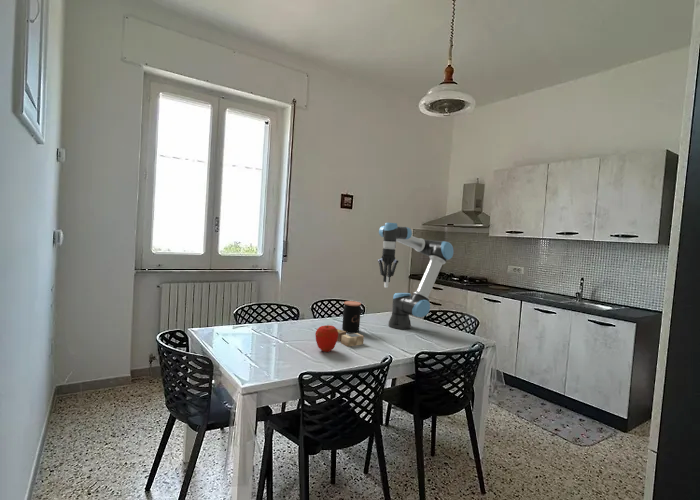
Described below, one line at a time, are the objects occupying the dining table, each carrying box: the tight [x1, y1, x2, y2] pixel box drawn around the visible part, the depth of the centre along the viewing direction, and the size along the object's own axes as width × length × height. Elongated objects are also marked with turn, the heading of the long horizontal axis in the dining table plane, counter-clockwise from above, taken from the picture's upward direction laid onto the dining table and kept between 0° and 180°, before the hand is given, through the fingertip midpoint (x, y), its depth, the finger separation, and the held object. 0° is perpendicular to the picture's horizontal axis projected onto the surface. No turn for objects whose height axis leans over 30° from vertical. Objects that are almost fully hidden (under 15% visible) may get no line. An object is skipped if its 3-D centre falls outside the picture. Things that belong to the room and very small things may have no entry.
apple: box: [315, 324, 338, 353], centre depth 205 cm, size 12×12×14 cm
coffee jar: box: [341, 300, 362, 334], centre depth 246 cm, size 11×11×18 cm
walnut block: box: [336, 328, 347, 343], centre depth 228 cm, size 5×6×11 cm
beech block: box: [340, 332, 365, 348], centre depth 220 cm, size 5×6×11 cm
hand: (386, 287), depth 237 cm, fingers closed
